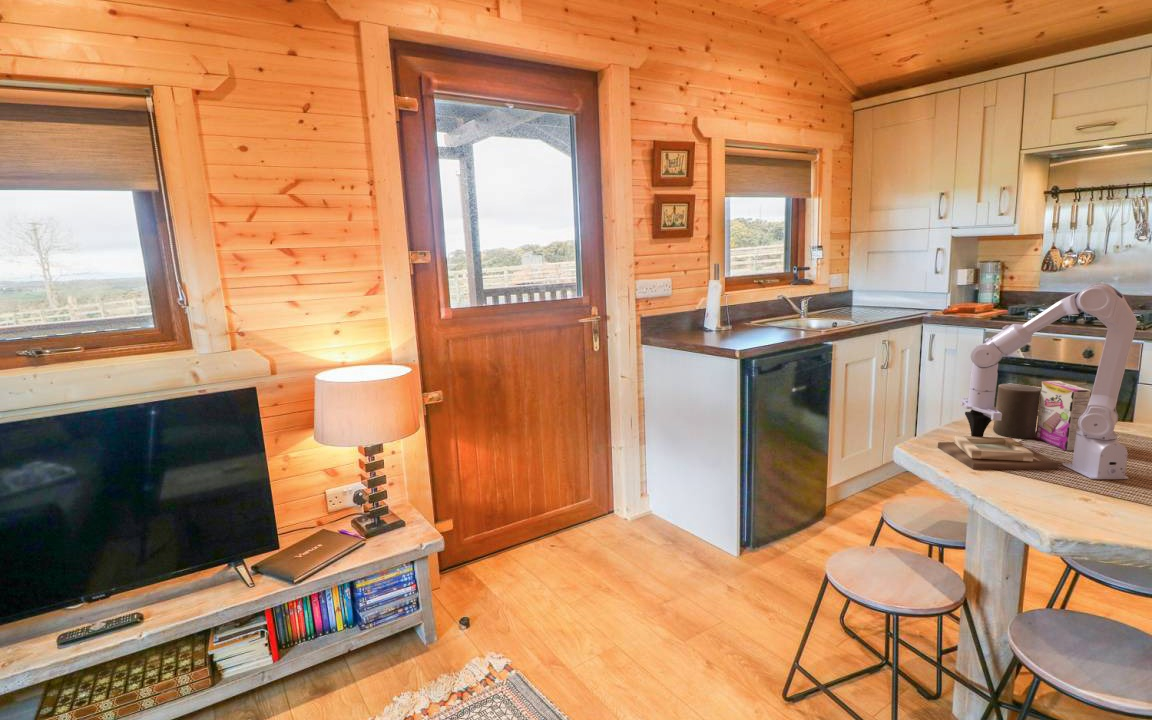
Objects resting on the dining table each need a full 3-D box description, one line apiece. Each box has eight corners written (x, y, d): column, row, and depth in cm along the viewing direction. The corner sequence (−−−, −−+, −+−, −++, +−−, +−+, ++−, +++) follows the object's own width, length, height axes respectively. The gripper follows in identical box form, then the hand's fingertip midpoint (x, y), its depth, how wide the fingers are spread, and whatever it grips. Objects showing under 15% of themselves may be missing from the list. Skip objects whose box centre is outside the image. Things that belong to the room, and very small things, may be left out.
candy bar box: (1033, 438, 163) (1040, 380, 160) (1052, 437, 163) (1059, 380, 160) (1065, 451, 152) (1073, 390, 149) (1085, 451, 152) (1093, 389, 149)
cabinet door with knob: (1032, 461, 141) (1033, 451, 141) (971, 458, 145) (972, 448, 144) (1010, 445, 153) (1011, 436, 152) (953, 442, 156) (954, 433, 155)
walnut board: (1057, 468, 141) (1058, 462, 140) (972, 469, 142) (973, 463, 142) (1013, 447, 156) (1014, 441, 156) (937, 447, 158) (938, 441, 158)
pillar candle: (1016, 440, 162) (1023, 387, 159) (984, 430, 171) (990, 380, 168) (1044, 437, 164) (1051, 385, 161) (1011, 427, 173) (1017, 377, 170)
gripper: (950, 382, 160) (946, 430, 162) (983, 396, 145) (977, 448, 148) (978, 382, 159) (972, 430, 162) (1013, 396, 145) (1006, 448, 148)
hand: (976, 439), depth 155 cm, fingers closed, pressing on cabinet door with knob
